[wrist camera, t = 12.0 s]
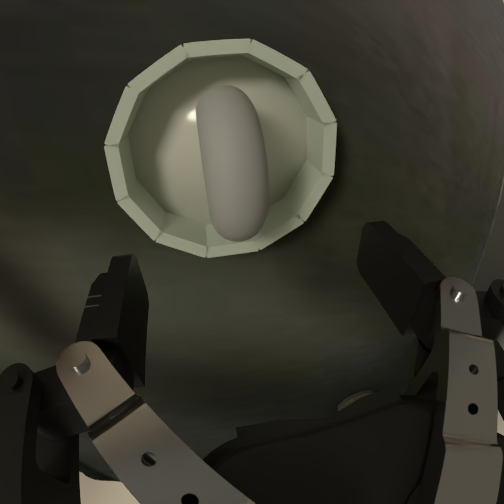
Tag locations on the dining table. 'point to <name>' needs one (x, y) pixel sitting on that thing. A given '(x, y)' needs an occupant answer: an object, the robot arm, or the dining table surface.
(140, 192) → the bowl
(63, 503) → the robot arm
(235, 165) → the donut
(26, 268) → the dining table surface
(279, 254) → the dining table surface
